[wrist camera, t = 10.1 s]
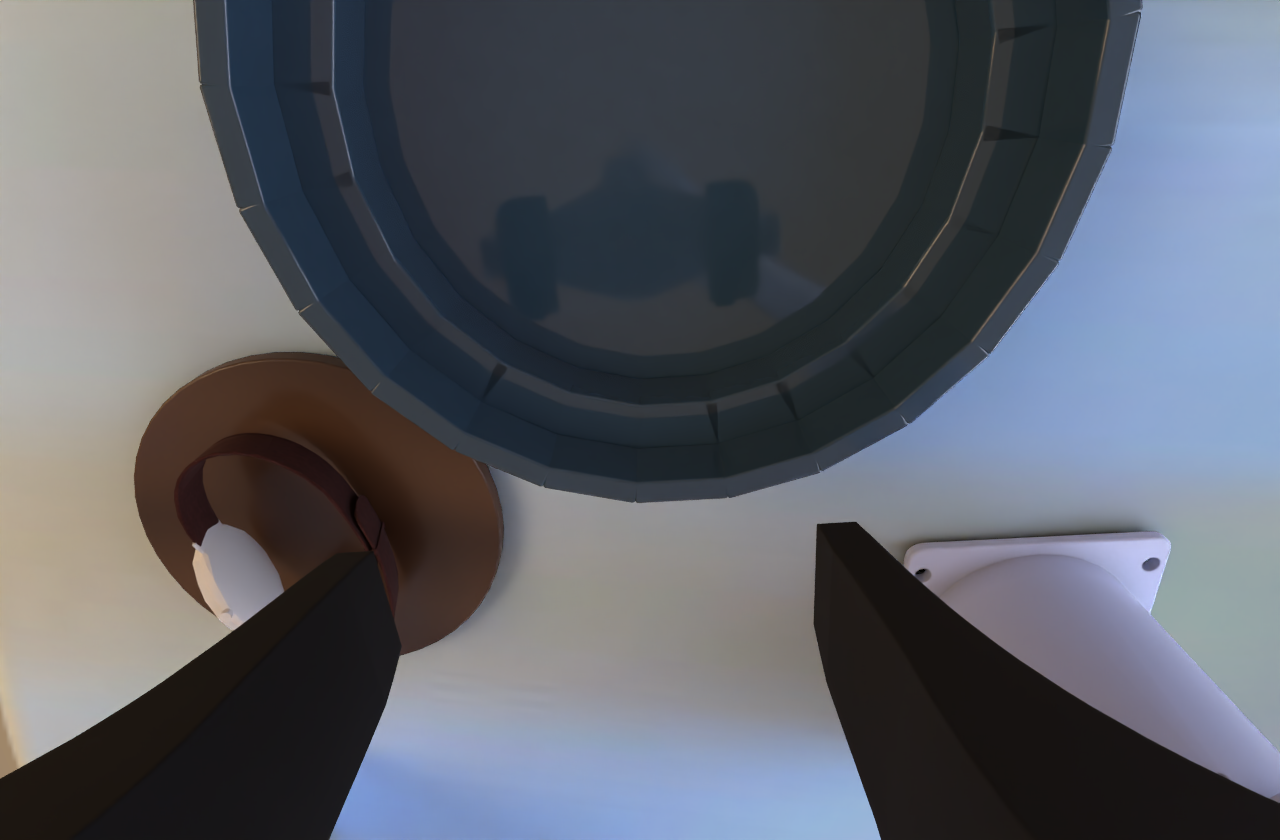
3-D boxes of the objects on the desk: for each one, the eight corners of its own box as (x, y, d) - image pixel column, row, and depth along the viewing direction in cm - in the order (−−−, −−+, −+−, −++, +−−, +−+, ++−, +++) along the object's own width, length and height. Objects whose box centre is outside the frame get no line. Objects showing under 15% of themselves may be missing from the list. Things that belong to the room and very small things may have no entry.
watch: (173, 450, 20) (84, 521, 17) (309, 391, 20) (242, 455, 16) (325, 637, 24) (273, 728, 20) (448, 594, 23) (415, 682, 19)
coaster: (526, 641, 24) (523, 654, 24) (215, 656, 25) (205, 668, 24) (471, 338, 20) (466, 346, 19) (86, 363, 20) (70, 371, 19)
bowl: (973, 410, 20) (1044, 482, 17) (386, 444, 21) (332, 520, 17) (1104, -445, 13) (1282, -647, 9) (182, -351, 13) (14, -506, 10)
